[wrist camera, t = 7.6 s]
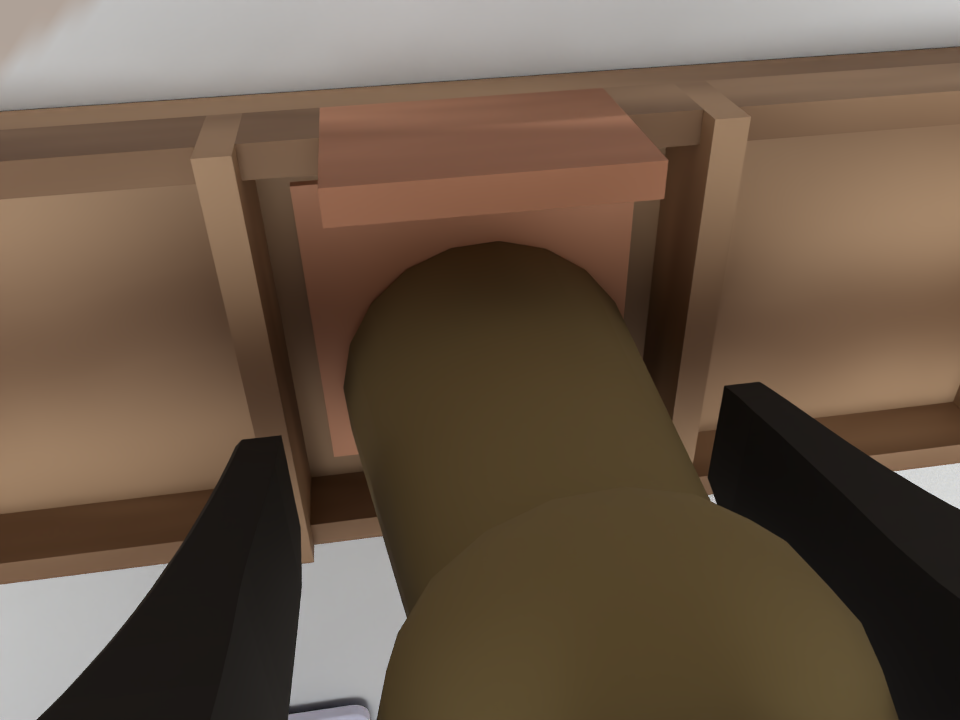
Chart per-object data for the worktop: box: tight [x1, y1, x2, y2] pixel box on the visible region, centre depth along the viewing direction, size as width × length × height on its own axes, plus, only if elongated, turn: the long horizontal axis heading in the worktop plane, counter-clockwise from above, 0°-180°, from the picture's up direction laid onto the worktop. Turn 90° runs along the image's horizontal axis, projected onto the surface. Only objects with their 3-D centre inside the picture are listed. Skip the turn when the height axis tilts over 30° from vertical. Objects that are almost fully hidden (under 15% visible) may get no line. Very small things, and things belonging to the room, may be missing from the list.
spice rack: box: [0, 47, 960, 584], centre depth 16 cm, size 9×25×4 cm, turn 91°
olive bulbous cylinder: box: [343, 241, 899, 720], centre depth 12 cm, size 6×6×11 cm
